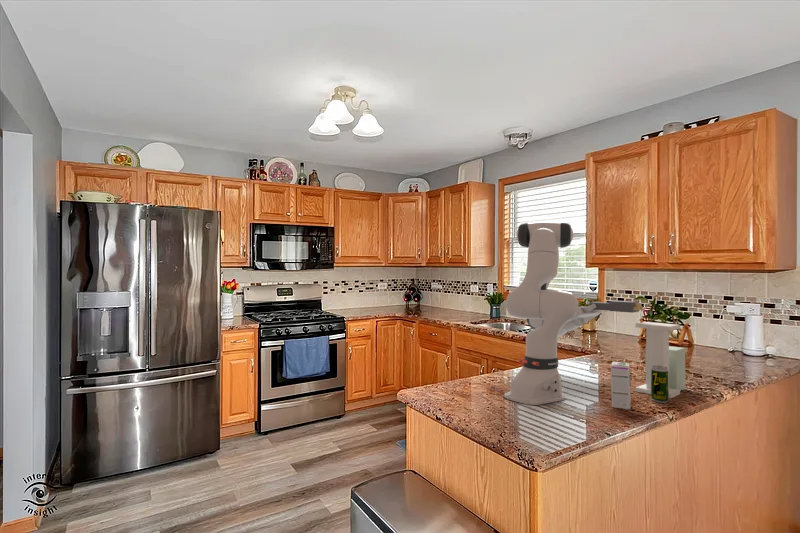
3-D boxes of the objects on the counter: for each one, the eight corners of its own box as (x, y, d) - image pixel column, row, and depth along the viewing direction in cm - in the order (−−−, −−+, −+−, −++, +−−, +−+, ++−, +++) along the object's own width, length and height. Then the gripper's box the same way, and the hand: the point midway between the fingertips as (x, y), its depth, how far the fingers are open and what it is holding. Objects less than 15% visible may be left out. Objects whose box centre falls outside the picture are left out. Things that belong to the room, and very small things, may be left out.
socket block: (676, 392, 164) (676, 350, 165) (645, 386, 173) (645, 346, 173) (685, 388, 170) (685, 348, 170) (655, 383, 179) (654, 344, 179)
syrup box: (630, 409, 144) (630, 366, 144) (610, 407, 147) (610, 364, 147) (630, 405, 149) (630, 362, 149) (611, 402, 152) (611, 361, 152)
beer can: (650, 398, 158) (650, 364, 158) (667, 399, 155) (667, 366, 155) (651, 402, 153) (651, 367, 153) (669, 404, 150) (669, 369, 151)
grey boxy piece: (587, 309, 183) (587, 299, 183) (594, 308, 187) (594, 299, 187) (637, 313, 168) (637, 302, 168) (644, 312, 171) (644, 302, 172)
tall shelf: (670, 398, 157) (670, 326, 157) (635, 391, 166) (635, 323, 167) (680, 394, 163) (679, 324, 163) (645, 387, 172) (645, 321, 172)
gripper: (556, 313, 187) (582, 299, 177) (580, 311, 199) (606, 297, 190) (562, 327, 184) (589, 313, 175) (587, 323, 197) (613, 310, 188)
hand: (598, 304), depth 183 cm, fingers closed on grey boxy piece, 3 cm apart
